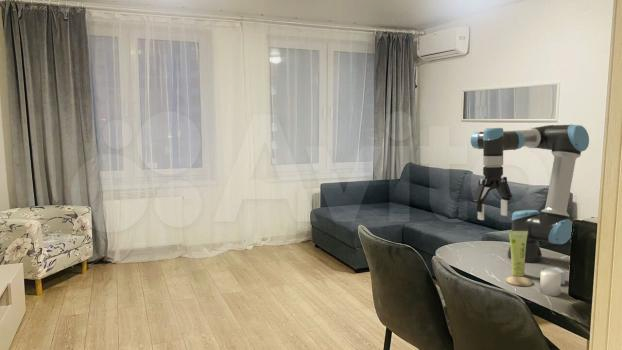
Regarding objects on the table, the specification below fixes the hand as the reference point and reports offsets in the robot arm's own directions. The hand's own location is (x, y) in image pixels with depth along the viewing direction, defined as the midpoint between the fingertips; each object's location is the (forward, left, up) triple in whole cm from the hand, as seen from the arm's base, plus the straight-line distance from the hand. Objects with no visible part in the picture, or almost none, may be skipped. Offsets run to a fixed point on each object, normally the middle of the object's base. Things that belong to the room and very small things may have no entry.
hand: (492, 217), depth 187 cm
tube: (-13, -7, -27) cm, 31 cm away
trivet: (-10, +2, -27) cm, 29 cm away
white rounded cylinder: (-17, +14, -27) cm, 35 cm away
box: (-24, +2, -27) cm, 37 cm away
